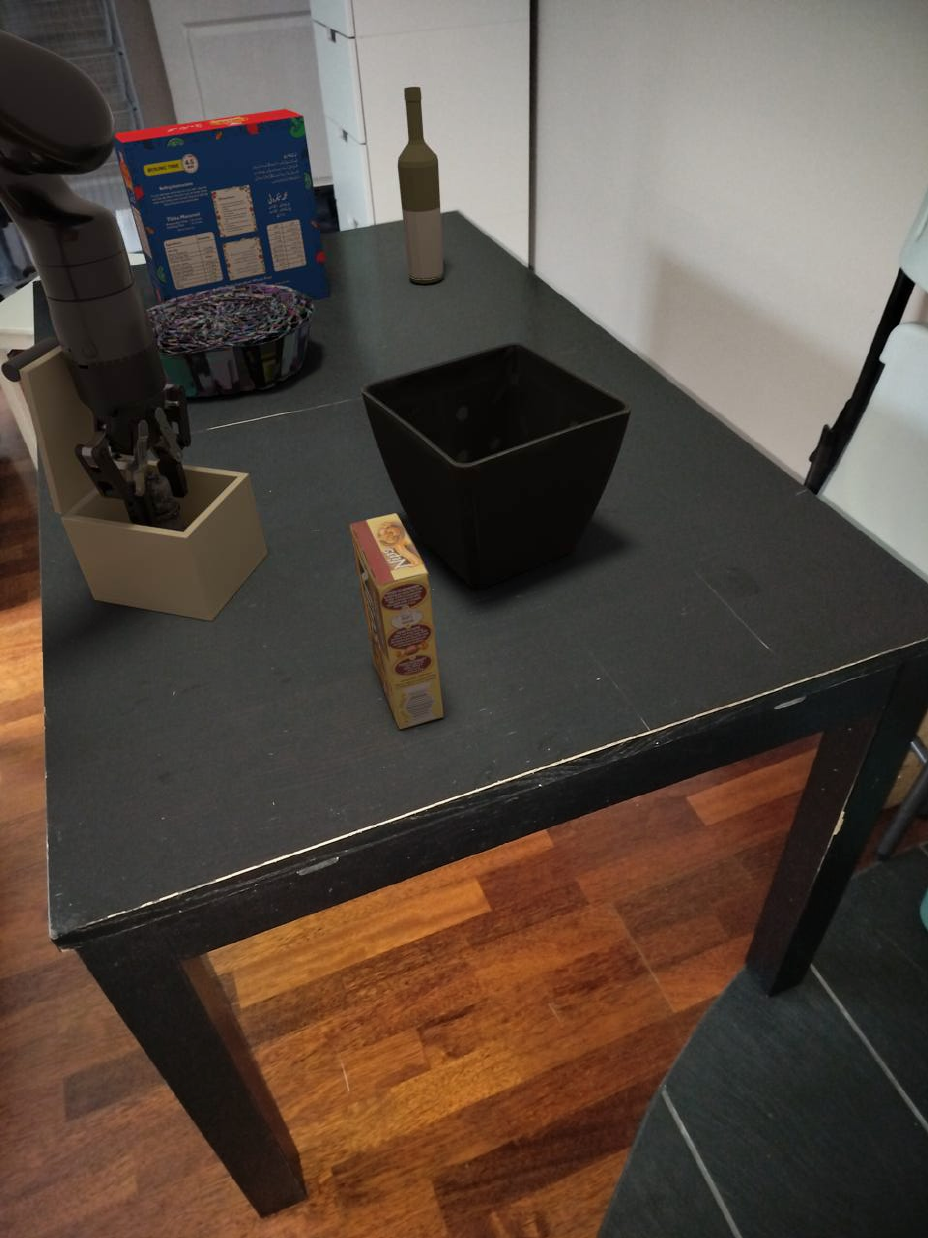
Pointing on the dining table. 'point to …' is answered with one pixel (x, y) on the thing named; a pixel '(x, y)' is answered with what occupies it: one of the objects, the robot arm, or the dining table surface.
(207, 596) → the tan lidded cardboard box
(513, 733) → the dining table surface
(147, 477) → the salt shaker
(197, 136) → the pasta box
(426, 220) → the bottle
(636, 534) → the dining table surface
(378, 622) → the candy box
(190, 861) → the dining table surface
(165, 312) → the decorative bowl
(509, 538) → the flower pot
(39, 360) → the lid
